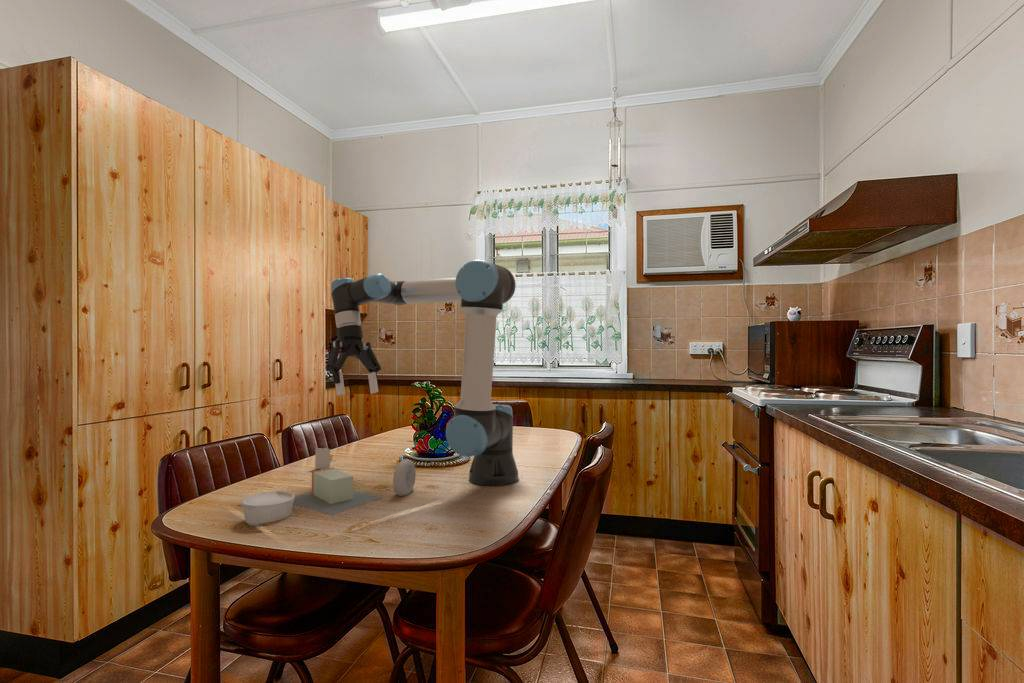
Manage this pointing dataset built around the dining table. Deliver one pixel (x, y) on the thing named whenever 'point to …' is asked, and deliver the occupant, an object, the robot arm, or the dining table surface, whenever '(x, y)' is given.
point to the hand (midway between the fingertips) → (358, 393)
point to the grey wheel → (404, 477)
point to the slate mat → (325, 507)
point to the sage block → (332, 485)
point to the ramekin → (267, 507)
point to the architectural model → (323, 458)
